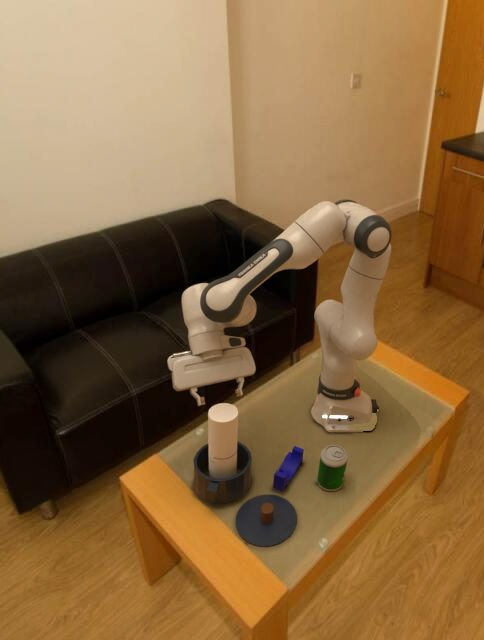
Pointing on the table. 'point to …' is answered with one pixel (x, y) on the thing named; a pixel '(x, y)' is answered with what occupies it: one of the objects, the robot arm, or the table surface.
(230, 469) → the cylindrical container
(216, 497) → the pot
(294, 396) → the table surface
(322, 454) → the soda can
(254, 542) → the pot lid
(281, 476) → the cable clip
